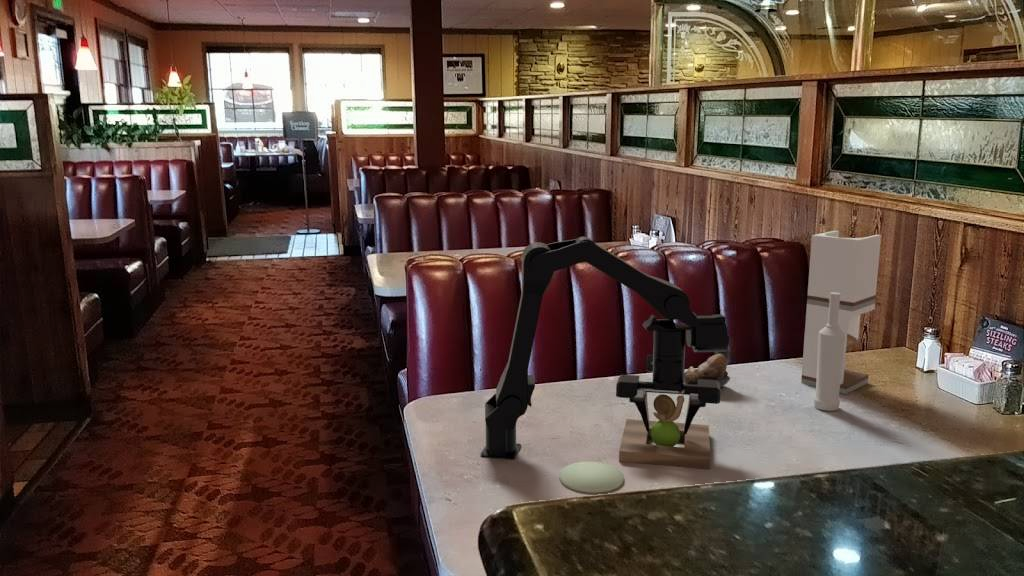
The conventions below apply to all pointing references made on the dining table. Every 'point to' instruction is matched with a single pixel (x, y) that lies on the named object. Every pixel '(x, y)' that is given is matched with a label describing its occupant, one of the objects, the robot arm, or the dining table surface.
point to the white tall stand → (855, 278)
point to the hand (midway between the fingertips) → (666, 432)
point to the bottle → (830, 359)
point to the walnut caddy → (687, 456)
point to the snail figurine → (666, 420)
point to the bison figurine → (710, 370)
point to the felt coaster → (591, 477)
